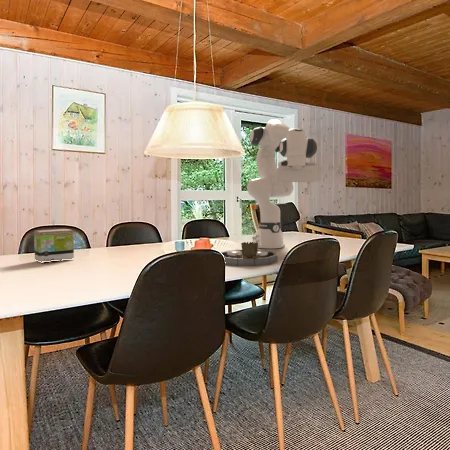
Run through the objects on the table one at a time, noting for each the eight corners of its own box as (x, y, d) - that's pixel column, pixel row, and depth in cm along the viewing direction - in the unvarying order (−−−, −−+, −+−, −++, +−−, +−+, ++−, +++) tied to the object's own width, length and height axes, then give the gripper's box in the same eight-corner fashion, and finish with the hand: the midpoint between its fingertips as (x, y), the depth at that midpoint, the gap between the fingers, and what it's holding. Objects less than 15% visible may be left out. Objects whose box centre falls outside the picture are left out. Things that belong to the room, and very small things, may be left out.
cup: (256, 262, 170) (256, 243, 169) (240, 261, 171) (239, 243, 171) (259, 259, 177) (259, 241, 176) (243, 259, 179) (243, 241, 178)
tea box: (41, 264, 178) (39, 231, 176) (34, 261, 185) (33, 230, 184) (74, 260, 188) (73, 229, 186) (67, 257, 195) (65, 228, 194)
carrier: (208, 258, 187) (208, 246, 187) (258, 254, 199) (258, 242, 198) (233, 268, 163) (233, 254, 163) (288, 262, 174) (288, 249, 174)
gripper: (317, 162, 191) (317, 191, 192) (274, 163, 192) (275, 192, 194) (319, 161, 184) (319, 191, 186) (275, 162, 186) (275, 192, 187)
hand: (296, 191), depth 190 cm, fingers open, 8 cm apart
